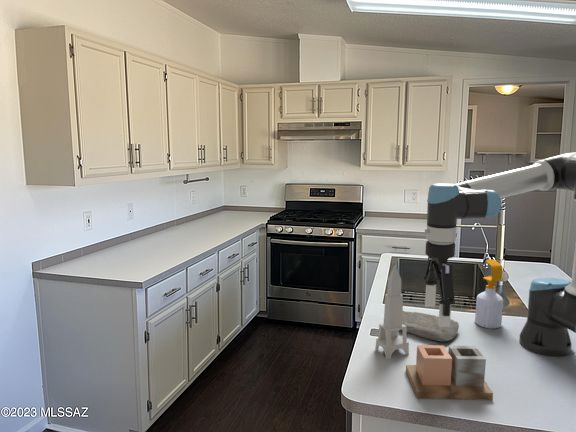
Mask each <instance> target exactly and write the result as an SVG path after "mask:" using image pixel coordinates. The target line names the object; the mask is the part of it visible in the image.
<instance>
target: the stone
mask: <svg viewBox="0 0 576 432" xmlns="http://www.w3.org/2000/svg"><path fill="white" fill-rule="evenodd" d="M402 324H404V325H405V326H406V327H407V333H409V334H412V335H415V336H419V337H422V338H425V339H430V340H433V341H437V342H448V341H451V340H453V339H454V338H455V337H456V335H457V334H458V331H459V329H460V324H459V322H458V321H455V320H454V319H452V318H450V327H439V315H438V316H437V315H434V314H430V313H429V314H428V313H423V312H416V311H413V312H412V311H405V310H403V316H402ZM401 332H403V329H402V330H401Z"/></svg>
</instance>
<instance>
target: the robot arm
mask: <svg viewBox="0 0 576 432" xmlns="http://www.w3.org/2000/svg"><path fill="white" fill-rule="evenodd" d="M537 190H539V191H543V192H545V191H550V190H565V191H573V192H574V194H573V195H574V196H573V200H574V201H575V202H576V151H575V152H574V151H573V152H567V153H562V154H558V155H555V156H550V157H548V158H543V159H539V160H536V161H534V162H533V163H532V165H528V166H524V167H521V168H516V169H511V170H508V171H504V172H499V173H495V174H491V175H487V176H483V177H478V178H475V179H470V180H465V181H462V182H457V183H433V184H430V185H429V187H428V193H427V200H426V202H427V211H426V212H427V213H426V215H427V216H426V229H424V233H426V235H425V236H426V240H427V241H425V251H424V252H425V255H426V256H427V262H426V267H425V269H424V270H425V271H424V276H423V280H424V283H425V296H424V297H425V300H424V306H425V308H436V297H437V295H436V294H437V285H438V288H439V289H438V290H439V295H440V296H439V297H440V300H439V301H438V304H439V309H438V311H439V312H438V313H439V314H438V317H439V327H450V319H451V315H452V314H451V313H452V305H455V303H456V302H455V292H454V291H455V290H454V281H453V265H451V264H449V263H448V260H449V259H452V258H453V257H455V255H456V243H455V242H456V241H457V228H458V227H457V225H458V220H462V219H463V220H465V219H486V218H494V217H496V216H497V215H498V214H499V213H500V210H501V209H502V206H501V205H502V199H504V198H508V197H512V196H515V195H520V194H525V193H528V192H532V191H537ZM571 273H572V274H571V280H567V279H563V278H555V277H540V278H535V279H533V280H532V281H530V282H531V283H530V287H529V290H528V291H529V292H528V303H527V304H528V306H527V318H526V322H525V323H524V325H523V327H522V329H521V332H520V334H519V343H520V345H521V346H523V347H524V348H525V349H527V350H529V351H532V352H534V353H536V354H537V353H538V354H541V355H545V356H550V357H563V356H568V355H570V354H571V352H572V345H573V344H572V341H571V336H570V333H569V330H570V331H571V332H573V333H575V334H576V242H575V245H574V254H573V264H572V272H571Z"/></svg>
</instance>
